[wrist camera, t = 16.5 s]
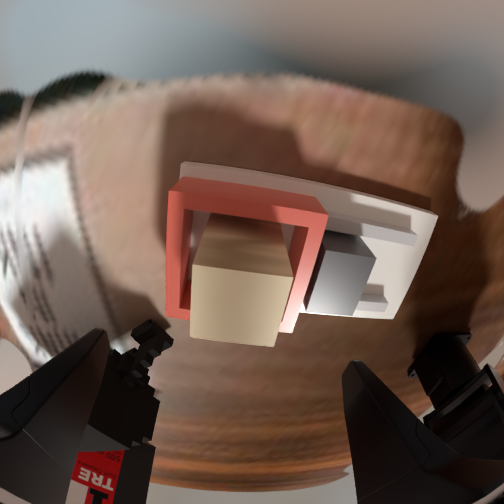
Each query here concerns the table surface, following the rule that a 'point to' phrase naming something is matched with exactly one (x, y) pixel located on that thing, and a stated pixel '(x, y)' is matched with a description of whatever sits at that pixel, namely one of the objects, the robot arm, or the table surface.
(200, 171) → the slide switch base
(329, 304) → the toggle
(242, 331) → the block
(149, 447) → the cleaning product box
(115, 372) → the security camera
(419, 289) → the table surface
